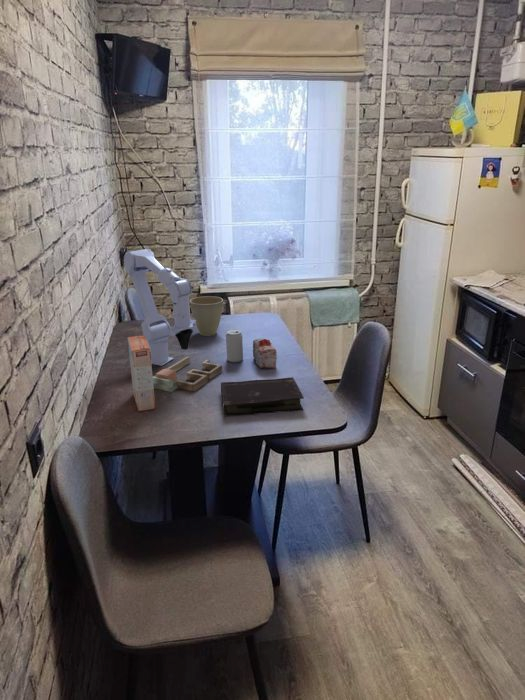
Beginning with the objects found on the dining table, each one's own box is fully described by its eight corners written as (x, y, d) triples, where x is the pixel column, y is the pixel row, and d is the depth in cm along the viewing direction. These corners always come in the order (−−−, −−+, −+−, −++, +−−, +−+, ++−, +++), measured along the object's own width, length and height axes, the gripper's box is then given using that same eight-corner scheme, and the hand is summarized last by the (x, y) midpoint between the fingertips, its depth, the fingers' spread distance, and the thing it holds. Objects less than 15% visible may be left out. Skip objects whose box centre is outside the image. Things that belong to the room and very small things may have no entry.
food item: (279, 369, 185) (279, 344, 182) (259, 371, 183) (258, 347, 180) (268, 356, 198) (268, 333, 194) (249, 358, 196) (249, 335, 192)
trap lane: (148, 387, 172) (147, 376, 170) (187, 362, 193) (187, 352, 191) (188, 395, 165) (187, 384, 163) (225, 369, 186) (224, 359, 184)
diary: (221, 394, 167) (220, 380, 166) (292, 388, 171) (292, 375, 169) (224, 419, 150) (224, 404, 148) (304, 412, 153) (304, 398, 152)
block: (157, 386, 172) (155, 373, 171) (165, 381, 176) (164, 368, 175) (168, 389, 170) (167, 375, 168) (177, 383, 174) (176, 370, 173)
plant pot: (223, 338, 218) (221, 304, 213) (190, 339, 219) (187, 304, 213) (225, 328, 232) (224, 295, 227) (194, 328, 233) (192, 296, 227)
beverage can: (240, 363, 191) (239, 334, 186) (225, 362, 192) (223, 333, 188) (244, 357, 196) (243, 329, 192) (229, 356, 198) (228, 328, 193)
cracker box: (157, 409, 156) (150, 348, 149) (137, 412, 154) (130, 350, 147) (151, 391, 168) (145, 334, 161) (133, 394, 167) (126, 336, 159)
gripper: (179, 320, 168) (182, 357, 172) (202, 309, 180) (204, 344, 185) (162, 317, 171) (166, 354, 175) (186, 307, 183) (188, 341, 188)
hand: (184, 348), depth 180 cm, fingers closed
